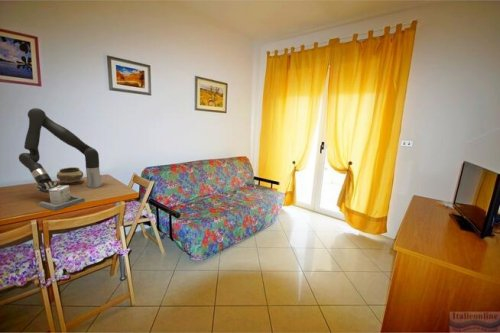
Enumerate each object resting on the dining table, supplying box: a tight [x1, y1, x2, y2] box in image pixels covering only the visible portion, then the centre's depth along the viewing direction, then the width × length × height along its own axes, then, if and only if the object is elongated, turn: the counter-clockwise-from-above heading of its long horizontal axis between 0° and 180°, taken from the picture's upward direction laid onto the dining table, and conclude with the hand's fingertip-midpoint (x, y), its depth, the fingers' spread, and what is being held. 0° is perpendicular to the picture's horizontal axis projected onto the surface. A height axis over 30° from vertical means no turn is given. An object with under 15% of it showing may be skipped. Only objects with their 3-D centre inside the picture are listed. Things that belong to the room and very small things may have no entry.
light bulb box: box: [48, 184, 71, 205], centre depth 149 cm, size 11×7×11 cm, turn 11°
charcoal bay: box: [38, 194, 86, 211], centre depth 148 cm, size 18×16×2 cm
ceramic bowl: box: [56, 166, 84, 185], centre depth 189 cm, size 24×18×15 cm
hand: (54, 196), depth 149 cm, fingers closed
